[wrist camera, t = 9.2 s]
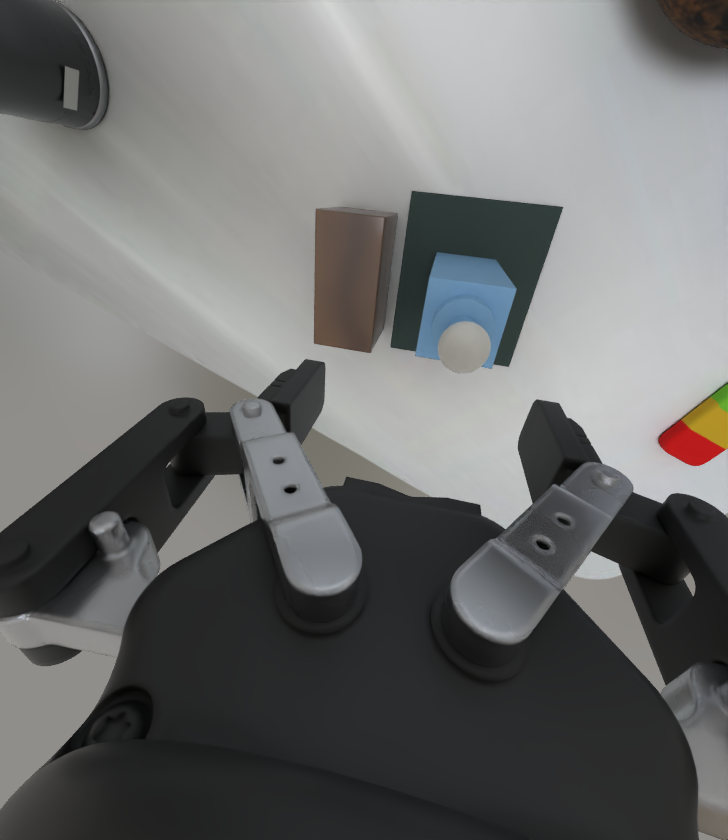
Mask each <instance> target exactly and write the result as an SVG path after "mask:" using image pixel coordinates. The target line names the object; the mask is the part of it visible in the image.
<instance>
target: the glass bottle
mask: <svg viewBox="0 0 728 840" xmlns="http://www.w3.org/2000/svg"><path fill="white" fill-rule="evenodd" d="M657 1H658V3H659V5H660V7H661V8H662V10H663V12H664V13H665V14H666V16H667V17H668V18H669V20H670V21H671V22H672V23H673V24H674V25H675V26H676V27H677V28H678V29H679V30H680V31H682V32H684V33H685V34H686V35H688V36H690V37H691V38H693V39H694V40H696V41H699V42H701V43H704V44H705V45H710V46H714V47H718V48H726V49H728V0H657Z"/></svg>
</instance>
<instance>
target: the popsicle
mask: <svg viewBox="0 0 728 840" xmlns="http://www.w3.org/2000/svg"><path fill="white" fill-rule="evenodd" d="M659 444H660V446H661V447H662V448H663V450H665V451H666V452H667V453H668V454H670V455H672V456H674V457H676V458H677V459H679V460H681V461H683V462H684V463H687V464H689V465H692V466H700V465H702V464H705V463H706V462H708V461H710V460H711V459H713V458H714V457H716V456H717V455H719V454H720V453H722V452H723V451H725V450H726V449H727V448H728V384H726V385H725V386H724V387H722V388H721V389H720V390H719V391H717V392H716V393H715V394H713V395H712V396H711V397H710V398H708V399H707V400H706V401H704V402H703V403H702V404H701V405H699V406H698V407H697V408H695V409H694V410H693V411H692V412H690V413H689V414H688V415H686V416H685V417H684V418H683V419H681V420H680V421H679V422H677V423H676V424H675V425H674V426H672V427H671V428H670V429H668V430H667V431H666V432H665V433H663V434H662V435H661V436H660V438H659Z"/></svg>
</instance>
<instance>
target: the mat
mask: <svg viewBox="0 0 728 840" xmlns="http://www.w3.org/2000/svg"><path fill="white" fill-rule="evenodd" d="M562 209H563V207H557V206H547V205H538V204H528V203H519V202H510V201H500V200H491V199H481V198H472V197H463V196H453V195H444V194H434V193H425V192H416V191H412V195H411V202H410V209H409V217H408V224H407V231H406V238H405V246H404V253H403V260H402V267H401V275H400V282H399V289H398V296H397V304H396V311H395V318H394V325H393V333H392V340H391V347H392V348H398V349H404V350H410V351H416V348H417V343H418V337H419V332H420V326H421V321H422V315H423V309H424V304H425V298H426V293H427V287H428V282H429V277H430V273H431V270H432V267H433V263H434V260H435V257H436V253H437V252H440V253H448V254H456V255H464V256H471V257H479V258H487V259H495V260H497V262H498V263H499V265H500V266H501V268H502V269H503V270H504V272H505V273H506V275H507V276H508V277H509V279H510V280H511V282H512V283H513V284H514V286H515V287H516V289H517V290H516V293H515V296H514V299H513V303H512V306H511V309H510V312H509V315H508V319H507V322H506V325H505V328H504V331H503V334H502V338H501V341H500V344H499V347H498V350H497V354H496V357H495V360H494V363H493V364H495V365H501V366H507V367H509V364H510V361H511V358H512V355H513V353H514V350H515V347H516V344H517V341H518V338H519V335H520V332H521V329H522V326H523V323H524V320H525V317H526V314H527V311H528V309H529V306H530V303H531V300H532V297H533V294H534V291H535V288H536V285H537V282H538V279H539V276H540V273H541V270H542V268H543V265H544V262H545V259H546V256H547V253H548V250H549V247H550V244H551V241H552V238H553V235H554V232H555V229H556V226H557V224H558V221H559V218H560V215H561V212H562Z"/></svg>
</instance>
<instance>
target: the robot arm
mask: <svg viewBox="0 0 728 840" xmlns="http://www.w3.org/2000/svg"><path fill="white" fill-rule="evenodd" d="M107 99H108V86H107V78H106V73H105V69H104V65H103V62H102V59H101V56H100V53H99V51H98V49H97V46H96V44H95V42H94V40H93V39H92V37H91V35H90V34H89V32H88V31H87V29H86V28H85V26H84V25H83V24H82V22H81V21H80V20H79V19H78V18H77V17H76V16H75V15H74V14H73V13H72V12H71V11H70V10H69V9H68V8H66V7H65V6H63V5H62V4H60V3H58V2H56V1H54V0H0V113H1V114H6V115H11V116H17V117H22V118H27V119H33V120H38V121H42V122H47V123H53V124H58V125H63V126H65V127H68V128H73V129H79V130H86V129H90V128H92V127H94V126H96V125H97V124H98V123H99V122H100V120H101V119H102V117H103V115H104V113H105V110H106V106H107ZM324 394H325V363H324V362H319V361H314V360H308V359H305V360H304V361H303V362H302V364H301V365H300V366H299V367H298V368H297V369H296V370H295V369H289V370H287V371H285V372H283V373H281V374H280V375H279V376H278V377H277V378H276V379H275V381H273V382H272V383H271V384H270V386H268V387H267V388H266V389H265V390H264V391H263V392H262V394H261V395H260V396H259V397H258V398H257V399H246V400H241V401H239V402H237V403H235V404H233V405H232V407H231V408H230V412H226V413H225V412H223V413H222V412H221V413H220V412H217V413H216V412H212V413H211V412H209V413H208V412H205V408H204V404H203V402H201V401H200V400H198V399H195V398H176V399H172V400H169V401H166V402H164V403H162V404H161V405H159V406H158V407H157V408H156V409H154V410H153V411H152V412H151V413H149V414H148V415H147V416H146V417H144V418H143V419H142V420H141V421H139V422H138V423H137V424H136V425H134V426H133V427H132V428H131V429H129V430H128V431H127V432H126V433H124V434H123V435H122V436H121V437H119V438H118V439H117V440H116V441H114V442H113V443H112V444H111V445H109V446H108V447H107V448H106V449H104V450H103V451H102V452H101V453H99V454H98V455H97V456H96V457H94V458H93V459H92V460H91V461H89V462H88V463H87V464H86V465H85V466H83V467H82V468H81V469H79V470H78V471H77V472H76V473H74V474H73V475H72V476H71V477H69V478H68V479H67V480H66V481H64V482H63V483H62V484H60V485H59V486H58V487H57V488H56V489H54V490H53V491H52V492H50V493H49V494H48V495H47V496H45V497H44V498H43V499H42V500H41V501H39V502H38V503H37V504H36V505H34V506H33V507H32V508H30V509H29V510H28V511H27V512H25V513H24V514H23V515H22V516H20V517H19V518H18V519H17V520H16V521H14V522H13V523H12V524H10V525H9V526H8V527H7V528H5V529H4V530H3V531H2V532H1V533H0V632H1V634H2V635H3V636H4V637H5V638H6V639H7V640H8V641H9V642H10V643H11V644H12V645H13V646H15V647H18V648H19V649H20V650H21V651H22V652H23V653H24V654H25V656H27V658H28V659H29V660H30V661H31V662H32V663H34V664H36V665H40V666H51V665H55V664H59V663H62V662H64V661H67V660H68V659H71V658H72V657H74V656H76V655H77V654H78V653H80V652H81V651H82V650H83V651H88V652H92V653H97V654H102V655H106V656H111V657H116V658H117V660H116V663H115V666H114V669H113V671H112V674H111V677H110V679H109V681H108V683H107V686H106V688H105V690H104V692H103V694H102V696H101V698H100V700H99V702H98V703H97V705H96V707H95V708H94V710H93V711H92V713H91V714H90V715H89V717H88V718H87V720H86V721H85V722H84V723H83V724H82V725H81V727H80V728H79V729H78V730H77V731H76V732H75V733H74V734H73V736H72V737H71V738H70V739H69V740H68V741H67V742H66V743H65V744H64V745H63V746H62V747H61V749H59V750H58V751H57V753H56V754H55V755H53V756H52V757H51V759H49V761H47V762H46V763H45V764H44V765H43V766H42V767H41V768H40V769H39V770H38V771H36V772H35V773H34V774H33V775H32V776H31V777H30V778H29V779H28V780H27V781H26V782H25V783H24V784H23V785H22V786H21V787H20V788H19V789H18V790H17V791H16V792H15V793H14V794H13V795H12V796H11V797H10V798H9V800H8V801H7V802H6V804H5V805H4V806H3V807H2V808H1V810H0V840H699V838H698V831H700V832H702V833H705V834H708V835H711V836H713V837H716V838H719V839H721V840H728V518H727V517H726V516H725V515H724V514H723V513H722V512H721V511H719V510H718V509H717V508H715V507H714V506H712V505H710V504H709V503H707V502H705V501H703V500H701V499H698V498H696V497H693V496H690V495H686V494H679V493H676V494H671V495H670V496H669V497H668V498H667V499H666V500H665V502H664V503H663V504H662V503H659V502H657V501H654V500H651V499H649V498H646V497H643V496H641V495H638V494H636V493H634V492H633V484H632V483H631V481H630V480H629V479H628V478H627V477H626V476H625V475H624V474H622V473H621V472H619V471H618V470H616V469H614V468H612V467H610V466H607V465H604V464H602V462H601V460H600V458H599V457H598V455H597V453H596V452H595V450H594V448H593V446H591V443H590V441H589V439H588V438H587V436H586V434H585V432H584V431H583V429H582V427H580V426H579V425H578V424H577V423H576V422H574V421H573V420H572V419H570V418H567V417H566V415H565V413H564V412H563V410H562V408H561V406H560V404H559V403H555V402H549V401H543V400H535V401H534V403H533V405H532V407H531V409H530V412H529V414H528V416H527V419H526V421H525V424H524V426H523V429H522V431H521V434H520V437H519V441H518V451H519V455H520V458H521V462H522V466H523V469H524V473H525V477H526V480H527V484H528V488H529V491H530V495H531V499H532V502H533V504H532V505H531V506H530V507H529V508H528V509H527V510H526V511H525V512H524V513H523V514H522V515H520V516H519V517H518V518H517V519H516V520H515V521H514V522H513V523H512V524H511V525H510V526H509V527H508V528H507V529H504V528H503V527H502V526H500V525H498V524H497V523H495V522H494V521H492V520H490V519H488V518H486V517H484V516H481V508H480V505H478V504H474V503H469V502H464V501H459V500H455V499H450V498H437V497H411V496H407V495H405V494H403V493H400V492H398V491H395V490H393V489H391V488H388V487H386V486H383V485H381V484H378V483H374V482H369V481H364V480H359V479H355V478H350V477H346V480H345V482H344V485H343V486H330V487H325V488H323V487H322V486H321V483H320V481H319V479H318V477H317V475H316V473H315V472H314V470H313V468H312V466H311V464H310V462H309V460H308V458H307V456H306V454H305V452H304V450H303V449H302V447H301V445H302V442H303V441H304V440H305V438H306V436H307V435H308V433H309V431H310V430H311V428H312V426H313V424H314V423H315V421H316V419H317V418H318V416H319V414H320V413H321V411H322V408H323V404H324ZM169 462H171V464H170V465H169V466H168V467H167V468H166V466H167V464H168V463H169ZM226 474H238V475H239V480H240V484H241V488H242V492H243V495H244V499H245V503H246V507H247V510H248V515H249V519H250V524H248V525H246V526H244V527H242V528H241V529H239V530H237V531H235V532H233V533H231V534H229V535H227V536H225V537H224V538H222V539H220V540H218V541H216V542H214V543H212V544H210V545H209V546H206V547H204V548H203V549H201V550H199V551H197V552H195V553H193V554H191V555H189V556H188V557H185V558H184V559H182V560H180V561H178V562H176V563H175V564H173V565H171V566H170V567H168V568H167V569H166V570H164V571H163V572H162V573H160V574H159V575H158V573H159V570H160V559H159V556H158V552H159V550H160V549H161V548H162V546H163V545H164V543H165V542H166V541H167V540H168V538H169V537H170V536H171V534H172V533H173V532H174V530H175V529H176V527H177V526H178V525H179V523H180V522H181V521H182V519H183V518H184V517H185V515H186V514H187V513H188V511H189V510H190V508H191V507H192V506H193V505H194V503H195V502H196V500H197V499H198V498H199V496H200V495H201V494H202V492H203V491H204V490H205V488H206V487H207V485H208V484H209V483H210V482H211V480H212V479H213V478H214V476H215V475H226ZM591 551H592V552H594V553H596V554H598V555H601V556H603V557H605V558H607V559H610V560H612V561H614V562H616V563H618V564H619V567H620V570H621V573H622V575H623V578H624V580H625V583H626V585H627V588H628V590H629V593H630V595H631V598H632V601H633V603H634V606H635V608H636V611H637V613H638V616H639V619H640V621H641V624H642V626H643V629H644V631H645V634H646V636H647V639H648V641H649V644H650V647H651V649H652V652H653V654H654V657H655V659H656V662H657V664H658V667H659V669H660V672H661V674H662V677H663V680H664V682H665V685H666V686H665V687H664V688H663V690H662V692H661V694H660V693H659V692H658V690H657V689H656V688H655V687H654V686H653V685H652V684H651V683H650V681H649V680H648V679H647V678H646V677H645V676H644V675H643V674H642V673H641V672H640V671H639V669H637V667H636V666H635V665H634V664H633V663H632V662H631V661H630V660H629V659H628V658H627V657H626V656H625V655H624V653H623V652H622V651H621V650H620V649H619V648H618V647H617V646H616V645H615V644H614V643H613V642H612V641H611V640H610V639H609V637H608V636H607V635H606V634H605V633H604V632H603V631H602V630H601V629H600V628H599V627H598V626H597V625H596V624H595V622H594V621H593V620H592V619H591V618H590V617H589V616H588V615H587V614H586V613H585V612H584V611H583V610H582V609H581V608H580V606H579V605H578V604H577V603H576V602H575V601H574V600H573V599H572V598H571V597H570V596H569V595H568V594H567V593H566V591H565V590H564V588H565V587H566V585H567V584H568V583H569V581H570V580H571V578H572V577H573V576H574V574H575V573H576V571H577V570H578V569H579V567H580V566H581V564H582V563H583V562H584V560H585V559H586V557H587V556H588V554H589V553H590V552H591ZM689 573H691V574H692V576H693V578H694V581H695V585H696V589H695V594H694V597H693V596H692V594H691V592H690V590H689V588H688V587H687V585H686V583H685V581H684V578H685V577H686V576H687V575H688V574H689ZM157 575H158V576H157Z"/></svg>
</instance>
